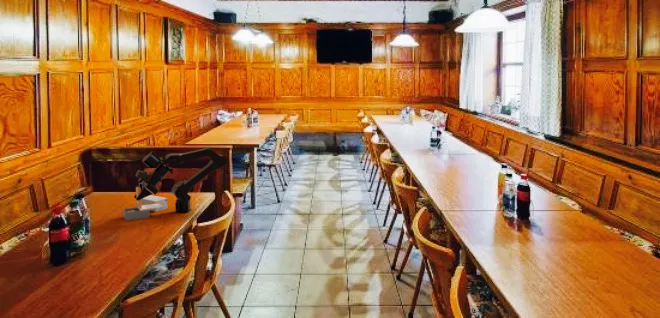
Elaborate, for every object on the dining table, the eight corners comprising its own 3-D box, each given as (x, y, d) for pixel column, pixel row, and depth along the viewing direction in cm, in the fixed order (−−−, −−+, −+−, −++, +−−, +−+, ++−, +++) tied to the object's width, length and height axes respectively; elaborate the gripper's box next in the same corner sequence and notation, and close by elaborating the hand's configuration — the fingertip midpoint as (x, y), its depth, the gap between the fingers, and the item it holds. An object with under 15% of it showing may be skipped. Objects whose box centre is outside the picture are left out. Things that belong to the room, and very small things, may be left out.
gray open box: (146, 213, 250) (146, 206, 250) (149, 217, 244) (149, 209, 243) (123, 216, 244) (122, 209, 244) (126, 220, 238) (125, 212, 237)
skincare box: (135, 207, 261) (155, 212, 254) (135, 196, 260) (154, 201, 252) (149, 204, 268) (168, 209, 261) (148, 193, 267) (167, 198, 260)
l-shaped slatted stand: (159, 204, 253) (158, 184, 251) (163, 208, 246) (162, 187, 244) (136, 207, 247) (135, 186, 245) (139, 210, 240) (138, 189, 239)
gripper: (141, 161, 250) (119, 185, 246) (149, 167, 235) (126, 192, 231) (158, 175, 256) (136, 198, 252) (167, 182, 240) (144, 207, 236)
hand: (135, 199), depth 243 cm, fingers open, 5 cm apart
